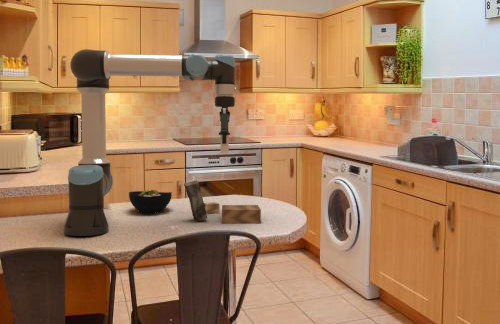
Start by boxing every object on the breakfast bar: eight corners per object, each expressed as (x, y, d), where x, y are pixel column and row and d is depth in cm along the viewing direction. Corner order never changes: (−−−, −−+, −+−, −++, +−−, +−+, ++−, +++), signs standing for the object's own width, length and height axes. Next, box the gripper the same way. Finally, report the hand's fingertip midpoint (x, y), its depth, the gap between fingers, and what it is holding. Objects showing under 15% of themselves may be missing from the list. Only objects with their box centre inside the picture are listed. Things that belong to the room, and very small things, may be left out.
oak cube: (207, 216, 216) (207, 204, 216) (204, 214, 221) (204, 202, 221) (219, 216, 218) (219, 203, 217) (216, 214, 222) (216, 202, 222)
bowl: (164, 217, 212) (164, 192, 211) (122, 216, 215) (122, 191, 214) (176, 211, 229) (176, 188, 228) (138, 210, 231) (137, 187, 231)
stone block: (196, 223, 201) (209, 218, 202) (185, 185, 199) (199, 181, 200) (193, 219, 209) (206, 215, 210) (183, 183, 208) (196, 179, 209)
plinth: (222, 223, 199) (222, 210, 198) (222, 217, 213) (222, 205, 212) (260, 223, 200) (260, 209, 199) (257, 217, 213) (257, 204, 213)
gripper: (234, 93, 193) (234, 153, 194) (235, 98, 218) (234, 151, 219) (213, 93, 193) (213, 153, 194) (216, 98, 218) (216, 151, 219)
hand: (224, 152), depth 207 cm, fingers open, 13 cm apart
